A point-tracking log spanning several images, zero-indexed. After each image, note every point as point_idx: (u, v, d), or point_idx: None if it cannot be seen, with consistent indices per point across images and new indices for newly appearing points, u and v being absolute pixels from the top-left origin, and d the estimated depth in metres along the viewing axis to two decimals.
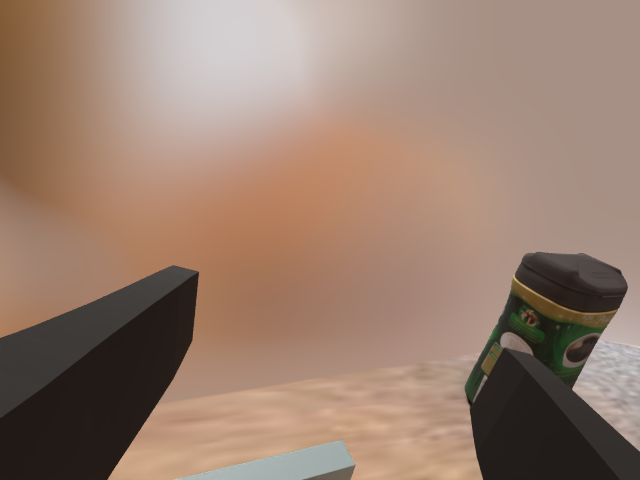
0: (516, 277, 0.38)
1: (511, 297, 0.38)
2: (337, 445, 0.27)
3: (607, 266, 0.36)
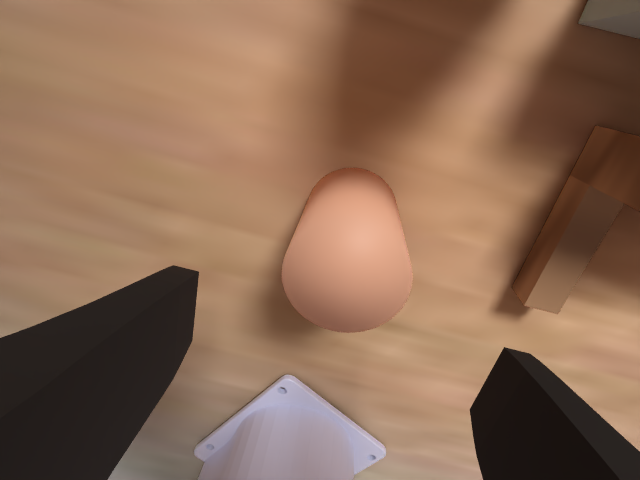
0: None
1: None
2: None
3: None
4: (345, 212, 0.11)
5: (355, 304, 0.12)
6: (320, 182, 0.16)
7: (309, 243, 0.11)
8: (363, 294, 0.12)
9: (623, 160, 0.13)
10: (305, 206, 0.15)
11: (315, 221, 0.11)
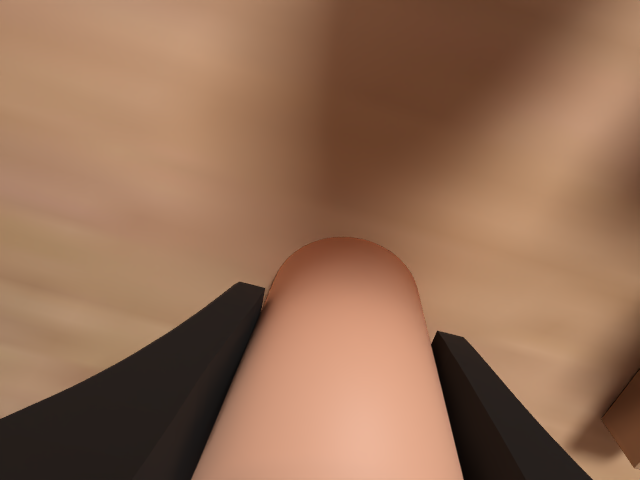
0: None
1: None
2: None
3: None
4: (320, 420, 0.05)
5: None
6: (289, 264, 0.09)
7: None
8: None
9: None
10: None
11: (246, 442, 0.05)
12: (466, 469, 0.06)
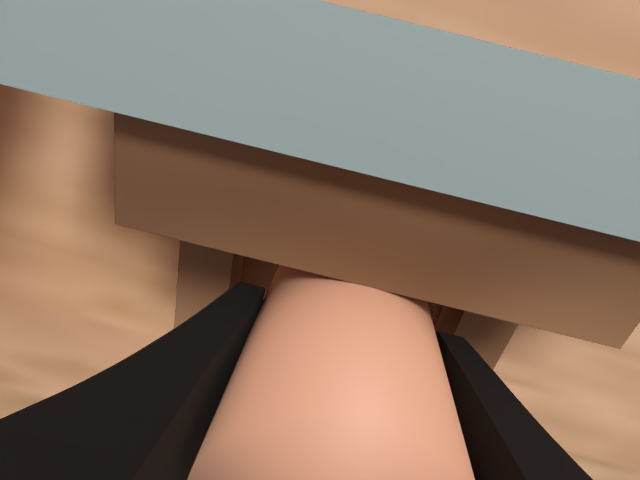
0: None
1: None
2: None
3: None
4: (313, 386, 0.05)
5: None
6: None
7: (233, 465, 0.05)
8: None
9: None
10: None
11: (244, 412, 0.05)
12: None
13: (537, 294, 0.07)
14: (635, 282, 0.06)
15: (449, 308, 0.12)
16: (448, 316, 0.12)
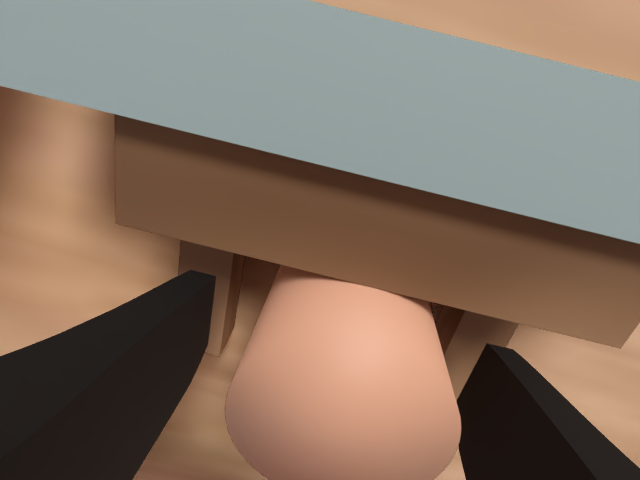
0: None
1: None
2: None
3: None
4: (327, 314, 0.06)
5: (360, 464, 0.07)
6: None
7: (265, 376, 0.06)
8: (374, 450, 0.07)
9: None
10: None
11: (273, 335, 0.06)
12: None
13: (537, 294, 0.07)
14: (636, 282, 0.06)
15: (449, 308, 0.12)
16: (448, 315, 0.12)
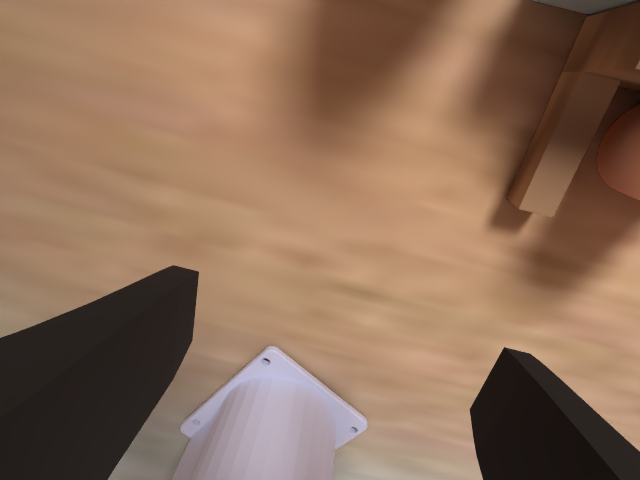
0: None
1: None
2: None
3: None
4: None
5: None
6: (631, 116, 0.15)
7: None
8: None
9: (613, 33, 0.13)
10: (637, 137, 0.14)
11: None
12: None
13: None
14: None
15: None
16: None
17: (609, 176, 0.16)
